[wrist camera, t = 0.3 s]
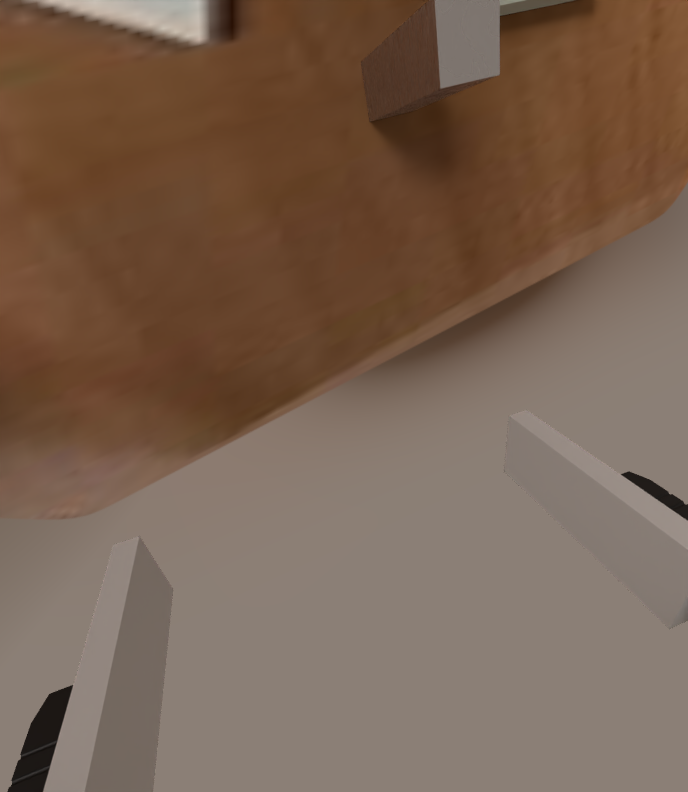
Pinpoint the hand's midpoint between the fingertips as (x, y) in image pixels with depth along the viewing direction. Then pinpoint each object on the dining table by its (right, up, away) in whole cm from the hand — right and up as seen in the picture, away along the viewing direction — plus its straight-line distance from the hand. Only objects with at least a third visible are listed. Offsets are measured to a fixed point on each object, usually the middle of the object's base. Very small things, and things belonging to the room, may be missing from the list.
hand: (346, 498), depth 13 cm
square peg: (+4, +29, +18) cm, 35 cm away
